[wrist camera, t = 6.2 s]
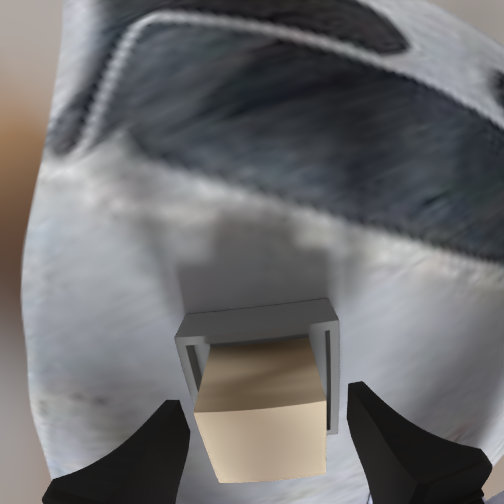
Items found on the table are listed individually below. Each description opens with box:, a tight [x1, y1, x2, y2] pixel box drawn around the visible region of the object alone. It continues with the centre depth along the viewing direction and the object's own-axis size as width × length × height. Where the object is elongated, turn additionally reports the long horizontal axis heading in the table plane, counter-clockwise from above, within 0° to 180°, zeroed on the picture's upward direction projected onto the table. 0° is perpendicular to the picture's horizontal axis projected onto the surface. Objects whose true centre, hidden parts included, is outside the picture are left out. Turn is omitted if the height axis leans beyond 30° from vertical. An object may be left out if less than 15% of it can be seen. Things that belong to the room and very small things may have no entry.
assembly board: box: [174, 298, 340, 436], centre depth 15 cm, size 7×7×2 cm
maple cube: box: [193, 337, 326, 483], centre depth 12 cm, size 4×4×4 cm
